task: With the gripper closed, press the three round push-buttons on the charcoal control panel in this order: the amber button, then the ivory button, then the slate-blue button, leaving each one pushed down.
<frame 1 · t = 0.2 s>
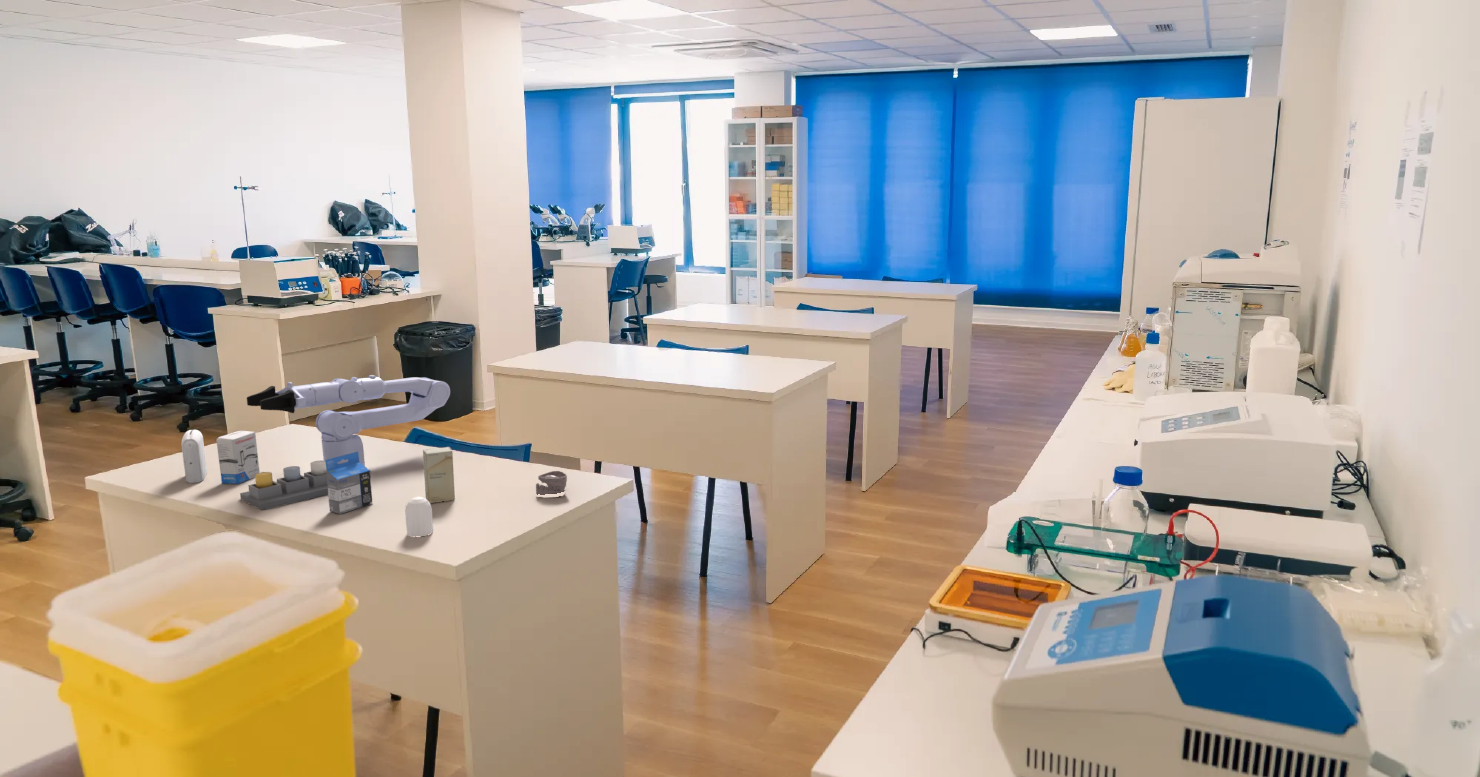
hand: (254, 403, 230), 21 cm above the table, tool horizontal, fingers open, 7 cm apart
white rounded cylinder: (420, 533, 203), on the table
ivory button: (318, 468, 233), point 5 cm above the table, slide at 0.0 cm
slate button: (292, 473, 228), point 5 cm above the table, slide at 0.0 cm
amber button: (264, 479, 224), point 5 cm above the table, slide at 0.0 cm
label tape cartridge: (351, 508, 220), on the table
skincare box: (440, 500, 225), on the table
ink box: (241, 480, 242), on the table
panel: (294, 494, 230), on the table
photo printer: (197, 478, 244), on the table
dental mold: (553, 495, 229), on the table
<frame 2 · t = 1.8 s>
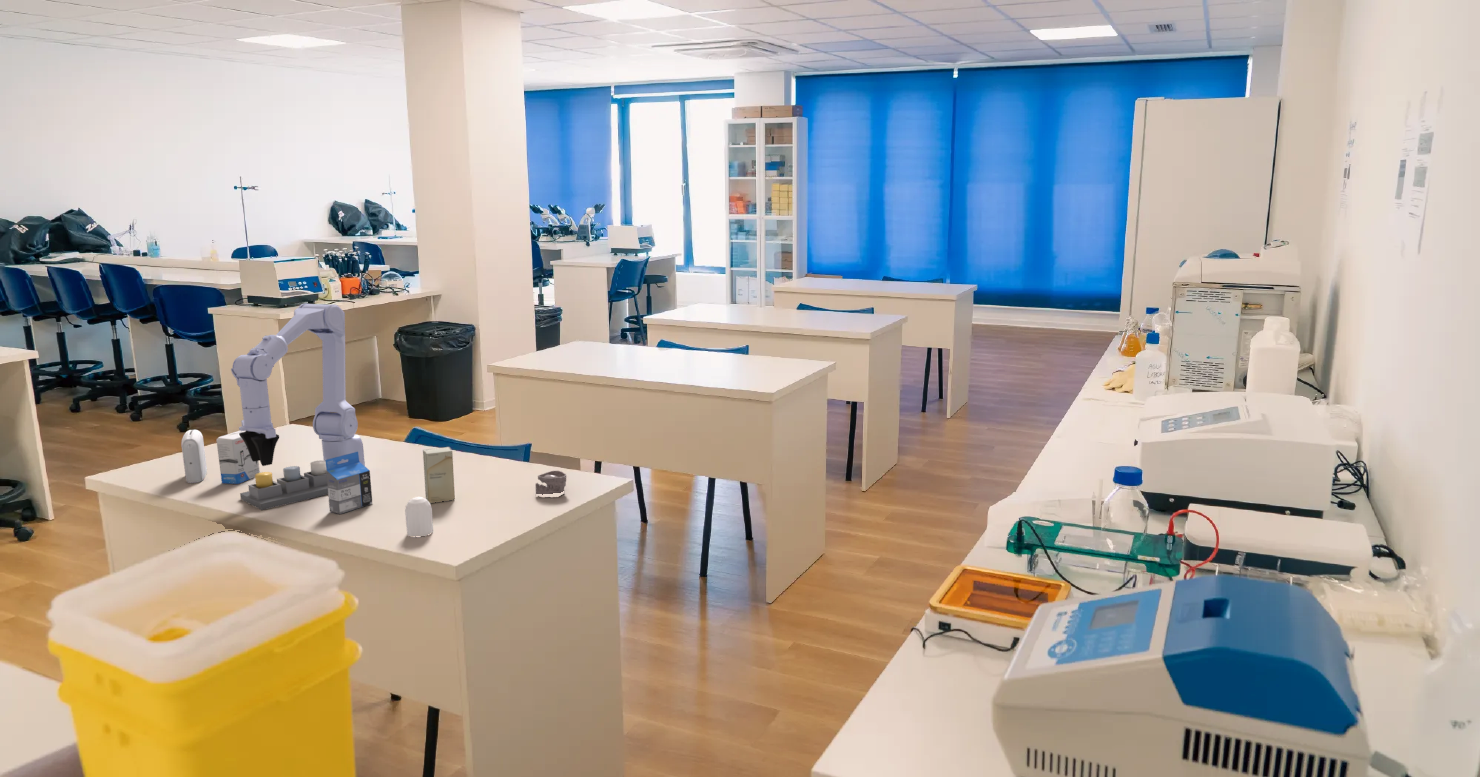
hand: (262, 462, 223), 9 cm above the table, tool pointing down, fingers open, 5 cm apart
nothing on the table moved.
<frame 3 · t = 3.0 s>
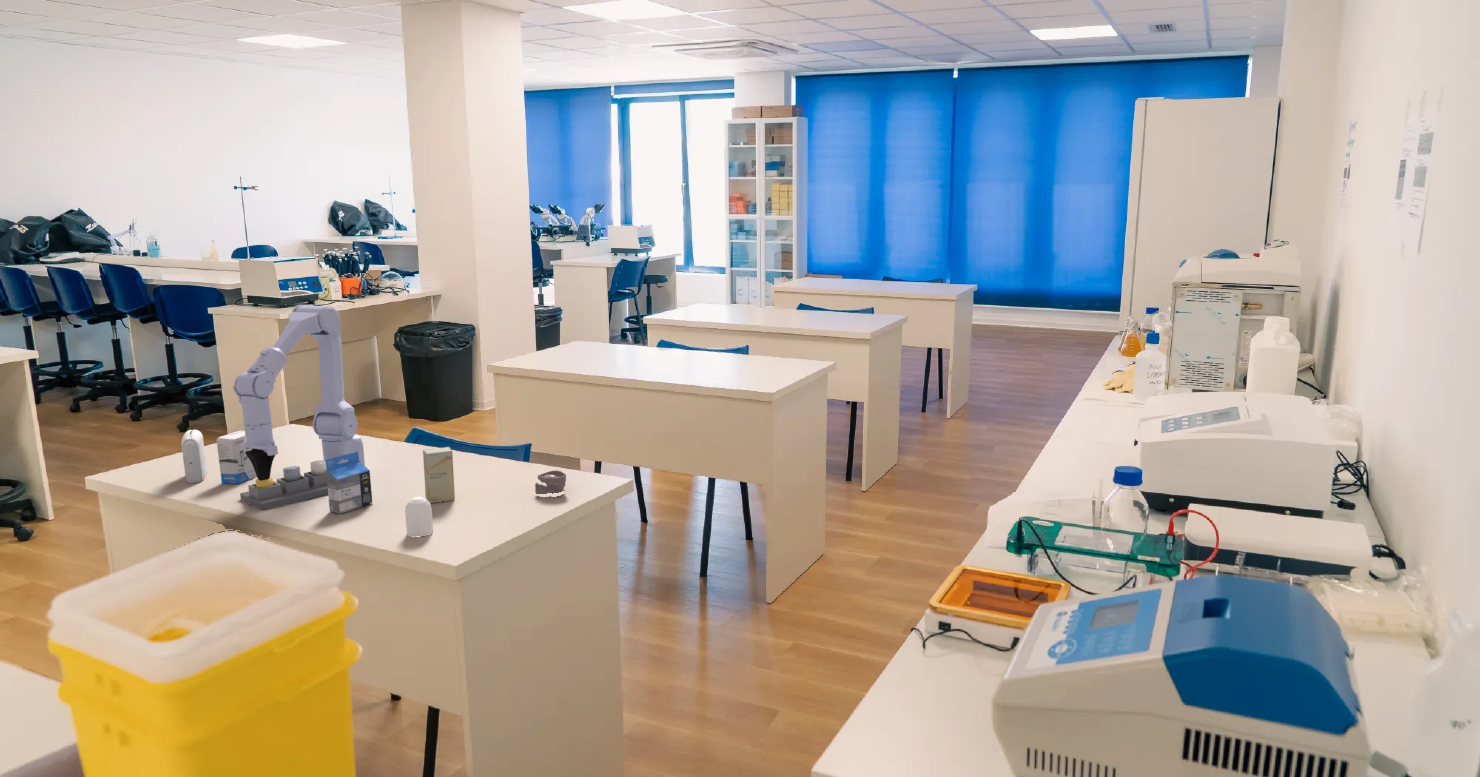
hand: (263, 479, 224), 5 cm above the table, tool pointing down, fingers closed, pressing on amber button
amber button: (264, 484, 224), point 4 cm above the table, slide at 1.2 cm, touching gripper
everything else where it was.
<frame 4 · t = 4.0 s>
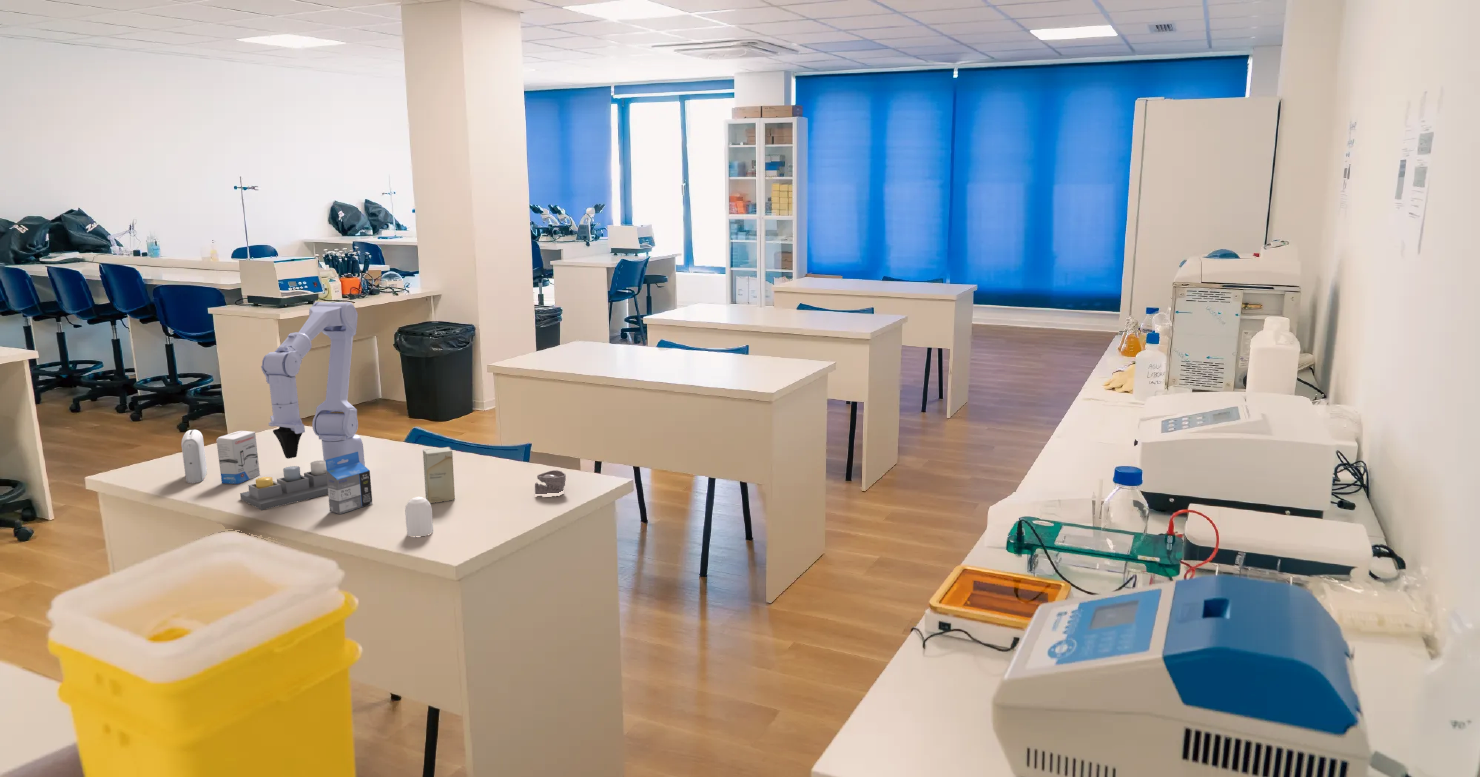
hand: (291, 457, 228), 9 cm above the table, tool pointing down, fingers closed
amber button: (264, 484, 224), point 4 cm above the table, slide at 1.2 cm
everything else where it was.
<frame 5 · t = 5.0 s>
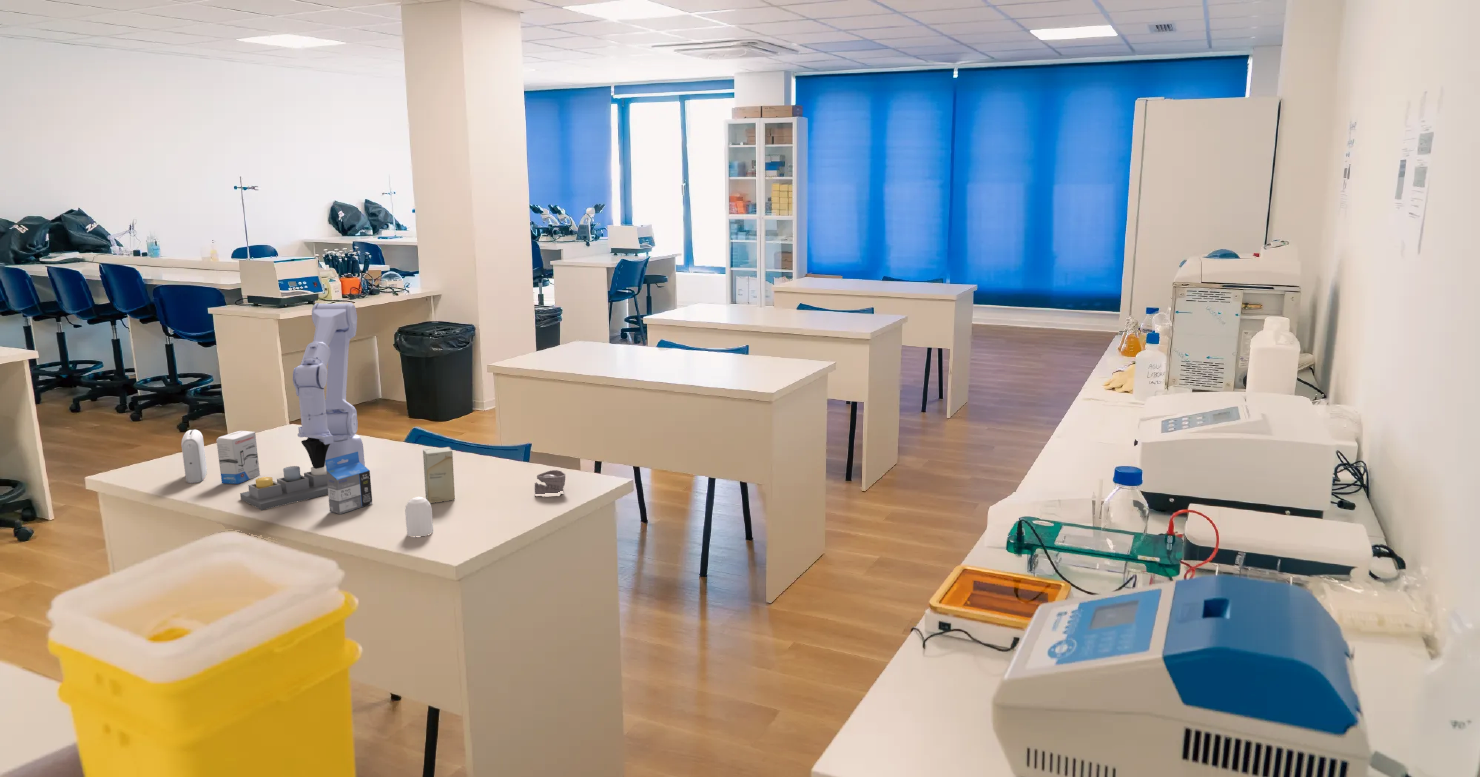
hand: (318, 467, 233), 5 cm above the table, tool pointing down, fingers closed, pressing on ivory button
ivory button: (319, 472, 233), point 4 cm above the table, slide at 1.2 cm, touching gripper
everything else where it was.
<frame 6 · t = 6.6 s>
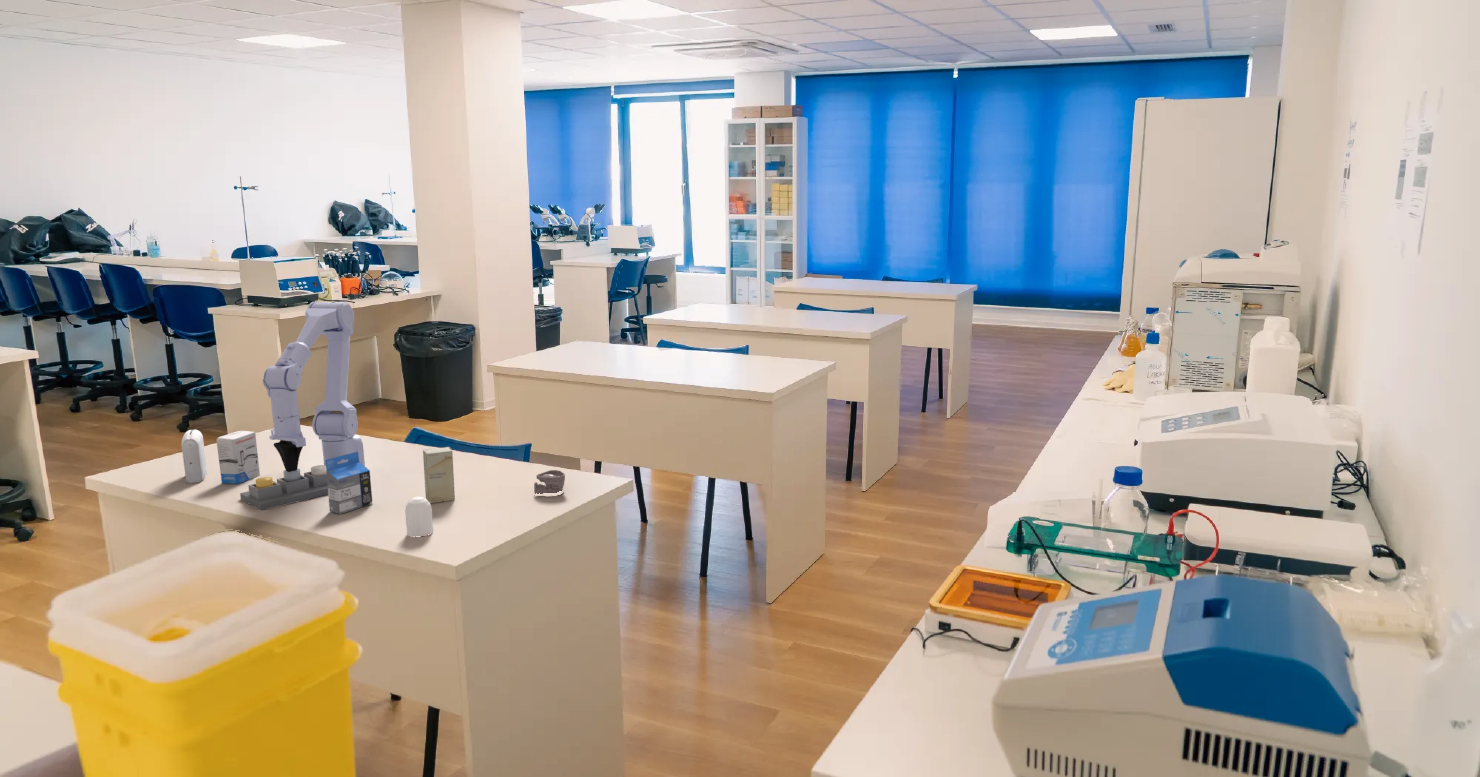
hand: (291, 470, 228), 6 cm above the table, tool pointing down, fingers closed, pressing on slate button
ivory button: (319, 472, 233), point 4 cm above the table, slide at 1.2 cm
slate button: (292, 476, 229), point 5 cm above the table, slide at 0.6 cm, touching gripper
everything else where it was.
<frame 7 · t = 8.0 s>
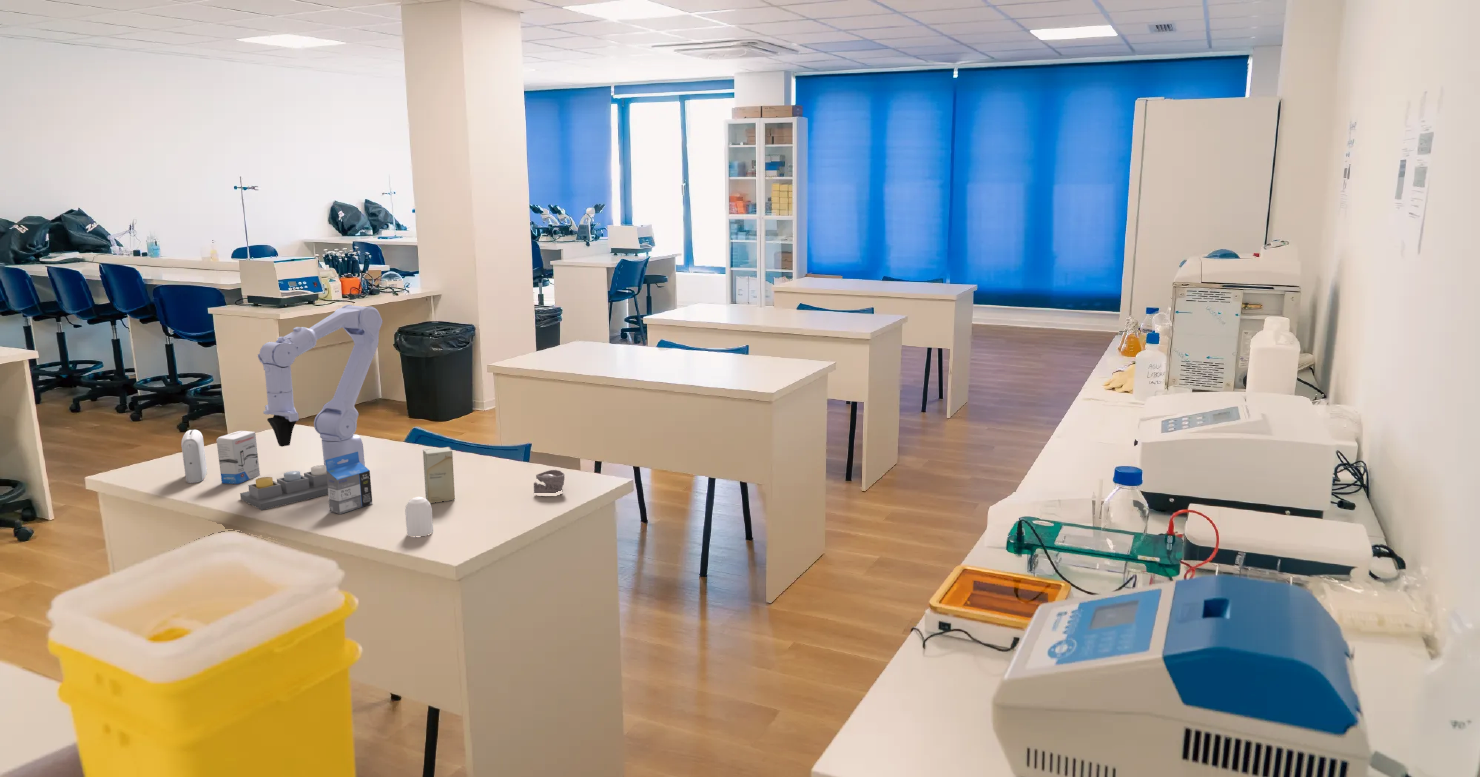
hand: (284, 445, 234), 10 cm above the table, tool pointing down, fingers closed
slate button: (292, 478, 229), point 4 cm above the table, slide at 1.2 cm
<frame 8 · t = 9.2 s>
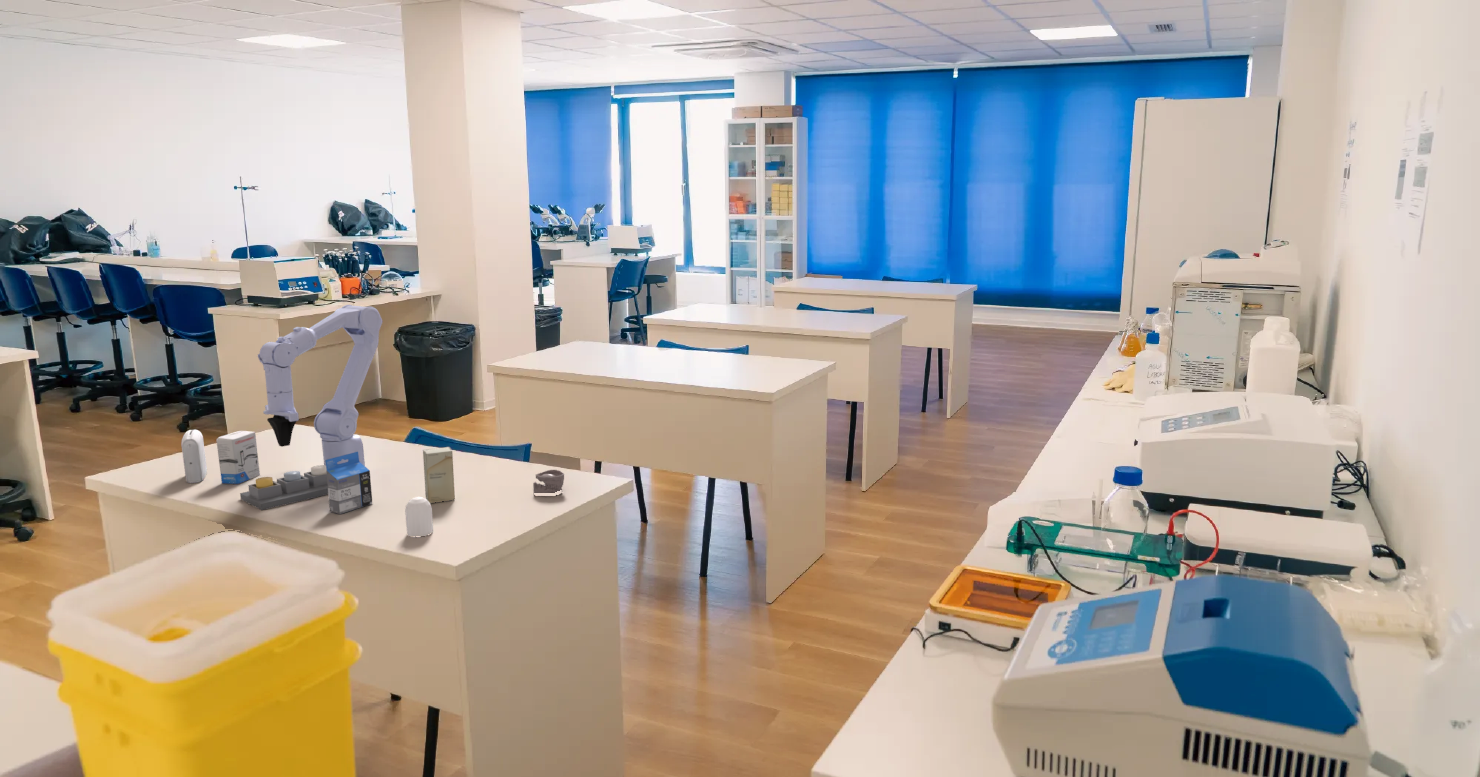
hand: (284, 445, 234), 10 cm above the table, tool pointing down, fingers closed
at the end: amber button slide at 1.2 cm; ivory button slide at 1.2 cm; slate button slide at 1.2 cm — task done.
